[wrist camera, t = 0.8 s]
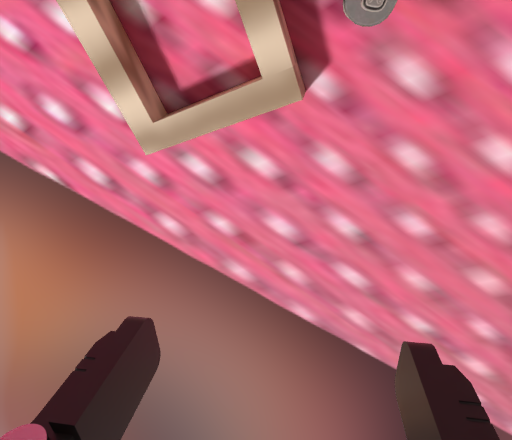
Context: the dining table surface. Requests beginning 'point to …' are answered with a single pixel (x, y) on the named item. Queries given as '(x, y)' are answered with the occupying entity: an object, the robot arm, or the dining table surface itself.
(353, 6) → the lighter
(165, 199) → the dining table surface
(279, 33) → the square beige frame
